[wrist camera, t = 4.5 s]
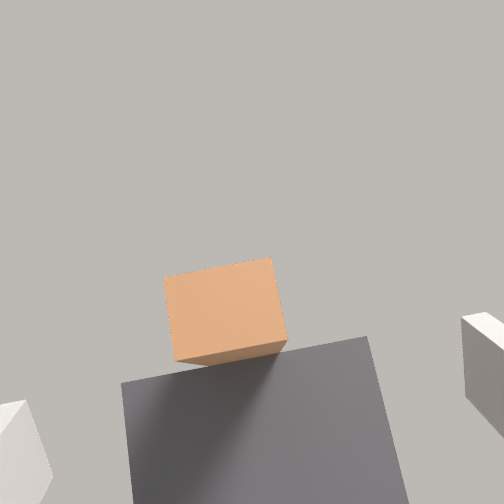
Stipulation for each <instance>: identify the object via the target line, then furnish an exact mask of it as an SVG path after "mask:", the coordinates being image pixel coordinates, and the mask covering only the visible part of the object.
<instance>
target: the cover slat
mask: <svg viewBox="0 0 504 504" xmlns="http://www.w3.org/2000/svg"><path fill="white" fill-rule="evenodd" d="M163 281H164V289H165V296H166V304H167V310H168V318H169V326H170V333H171V340H172V347H173V355H174V361H177V362H184V363H190V364H198V365H205V366H214V365H219V364H224V363H229V362H234V361H239V360H245V359H250V358H255V357H260V356H265V355H271V354H276V353H280V351H281V350H282V348H283V347H284V345H285V343H286V342H287V340H288V337H287V331H286V327H285V322H284V317H283V312H282V307H281V302H280V297H279V292H278V288H277V283H276V278H275V273H274V269H273V263H272V258H271V257H270V258H264V259H259V260H253V261H248V262H243V263H237V264H232V265H227V266H221V267H216V268H211V269H206V270H200V271H195V272H190V273H185V274H179V275H174V276H169V277H163Z"/></svg>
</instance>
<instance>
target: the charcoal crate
mask: <svg viewBox="0 0 504 504" xmlns="http://www.w3.org/2000/svg"><path fill="white" fill-rule="evenodd" d="M121 387H122V397H123V407H124V416H125V425H126V435H127V445H128V455H129V464H130V472H131V473H130V474H131V484H132V493H133V503H134V504H409V502H408V498H407V494H406V490H405V486H404V482H403V478H402V474H401V470H400V466H399V462H398V458H397V454H396V450H395V447H394V443H393V438H392V434H391V430H390V426H389V422H388V419H387V414H386V410H385V406H384V402H383V399H382V395H381V391H380V387H379V383H378V379H377V375H376V371H375V367H374V363H373V359H372V355H371V351H370V347H369V343H368V339H367V336H365V337H359V338H354V339H349V340H344V341H338V342H333V343H328V344H323V345H318V346H312V347H307V348H302V349H297V350H292V351H286V352H281V353H276V354H271V355H265V356H260V357H255V358H250V359H245V360H239V361H234V362H229V363H224V364H219V365H214V366H208V367H203V368H198V369H193V370H188V371H182V372H178V373H172V374H167V375H162V376H157V377H151V378H146V379H141V380H136V381H130V382H125V383H121Z"/></svg>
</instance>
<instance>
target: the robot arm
mask: <svg viewBox="0 0 504 504" xmlns="http://www.w3.org/2000/svg"><path fill="white" fill-rule="evenodd" d="M461 326H462V343H463V358H464V375H465V393H466V398H467V399H468V400H469V401H470V402H471V403H472V404H473V405H474V406H475V407H476V408H477V410H478V411H479V412H480V413H481V414H482V415H483V416H484V417H485V418H486V419H487V420H488V422H489V423H490V424H491V425H492V426H493V427H494V428H495V429H496V430H497V431H498V432H499V434H500V435H501V436H502V437H503V438H504V324H503V323H501V322H500V321H498V320H497V319H495V318H494V317H493V316H491V315H490V314H488V313H487V312H483V313H478V314H473V315H468V316H463V317H461ZM52 478H53V474H52V471H51V469H50V466H49V462H48V460H47V457H46V454H45V451H44V448H43V446H42V443H41V440H40V437H39V434H38V431H37V429H36V426H35V423H34V420H33V417H32V414H31V412H30V409H29V406H28V403H27V400H22V401H17V402H12V403H6V404H1V405H0V504H40V502H41V500H42V498H43V496H44V494H45V492H46V490H47V488H48V486H49V484H50V482H51V480H52Z"/></svg>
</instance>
